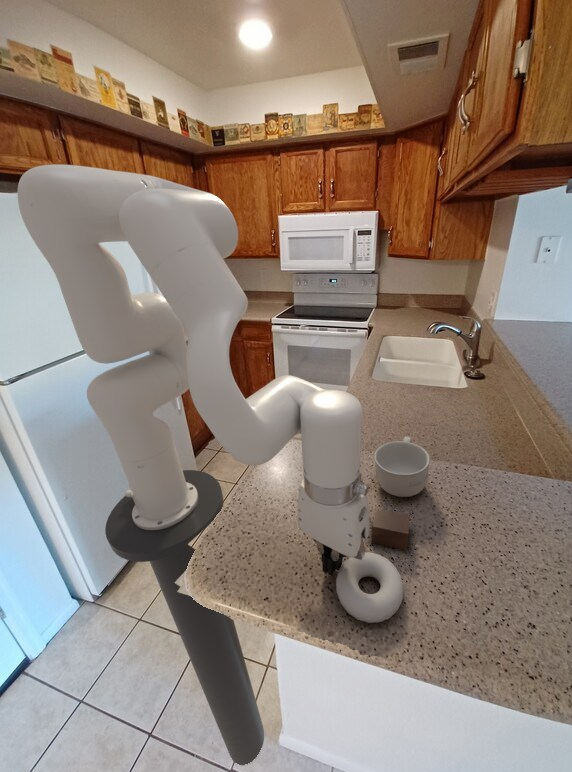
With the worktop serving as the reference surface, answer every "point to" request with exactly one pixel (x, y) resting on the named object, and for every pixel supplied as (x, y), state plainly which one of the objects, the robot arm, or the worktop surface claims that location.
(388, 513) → the block
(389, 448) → the teacup
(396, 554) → the worktop surface
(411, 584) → the worktop surface
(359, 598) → the donut
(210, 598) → the worktop surface
